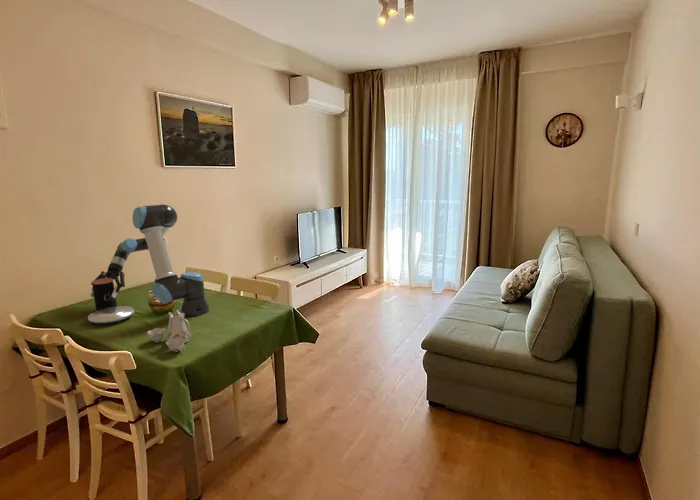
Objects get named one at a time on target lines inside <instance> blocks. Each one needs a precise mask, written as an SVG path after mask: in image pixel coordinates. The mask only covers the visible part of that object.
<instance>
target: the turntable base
mask: <svg viewBox="0 0 700 500" xmlns="http://www.w3.org/2000/svg"><path fill="white" fill-rule="evenodd" d="M128 318H129V317H127V318H125V319H122V320H118V321H114V322H108V323H95V324H96V325H99V326H100V325H101V326H102V325H103V326H104V325H114V324H118V323H121V322H123V321H126V320H128Z"/></svg>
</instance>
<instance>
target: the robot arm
mask: <svg viewBox="0 0 700 500" xmlns="http://www.w3.org/2000/svg"><path fill="white" fill-rule="evenodd" d="M177 221H178V213H177V211H176V210H175V208H173V207H172V206H170V205H167V204H153V205H143V206H137V207H135V208H134V209H133V212H132V224H133V226H134V228H136V229H139V232H140V233H141V234H143V235H144V238H136V239H134V238H126V239H124V240H123V241H122V242H119V244H118V246H117V247H116V250H115V253H114V254H113V256H112V258H111V260H110V262H109V265H108V267H107V271H103V270H102V271H101V272H100V274H99V275H98V276H97V277H96V278H94V280H97V279H101V278H112V279H113V281H114V282H115V284H116V285H114V291H113V293H112V297H113V298H115V297H116V296H117V295H118V293H119V292H120V290H121V288H125V286H126V284H125V276H126V275H125V273H124V272H123V269H124V266H125V265H126V262H127V260H128V257H129V255H131V254H132V253H135V252H136V253H137V252H141V251H142V252H143V251H146V250H147V251H149V256H150V259H151V262H152V266H153V270H154V273H155V278H154V280H153V281H154V282H153V284H152V285H151V288H152V290H151V291H152V293H153V296H154V297H155V299H156V300H157V301H158V302H160V303H163V304H164V303H165V304H166V303H172V302H174V301H177V300H180V299H183V301H182V305H181V309H180V311H181V313H184V314H185V315H184V317H195V316H201V315H203V314H206V313H208V312H209V311H210V306H209V303H208V300H207V299H206V295H205V284H204V283H205V282H204V276H203V274H202V273H200V272H196V271H195V272H194V271H193V272H192V271H191V272H190V271H188V272H182V273H181V274H180V276H179V277H178V275H177V273H176V272H174V270H173V266H172V263H171V260H170V257H169V254H168V249H167V246H166V242H165V239H164V235H165V234H166V233H167V232H168V230H169V229H170V228H172V227H173V226H175V224H176V223H177ZM90 285H91V286H93V284H92V282H90ZM89 297H91V298H94V293H93V287H92V288H91V292H90V294H89ZM116 298H117V297H116Z"/></svg>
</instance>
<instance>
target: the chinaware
mask: <svg viewBox="0 0 700 500" xmlns="http://www.w3.org/2000/svg"><path fill="white" fill-rule="evenodd" d="M167 314H168V316H169V319H168V324H167V327H168V333H167V341H165V343H164V344H165V345H167V348H168V350H170V351H172V352H173V351H179V350H180V352H182V351H185V350H186V346H185V344H187V343H188V342H190V340H191V337H192V335H193V334H192V332H191V331H190V322H189V321H188V319H186V318H185V314H184V313H181V312H180V311H179V310H178V309H176V310H175V311H174V313H173V314H172V312H168V313H167ZM166 332H167V328H166V327H163V328H161V327H155V328H153V329H152V330H148V331H147V332H146V333H147V336H148V337H149V339H150V340H151V341H153V342H154V341H160V340H162V341H163V339H164V337H165V336H166ZM186 342H187V343H186ZM184 343H185V344H184Z"/></svg>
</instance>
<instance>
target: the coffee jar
mask: <svg viewBox="0 0 700 500" xmlns="http://www.w3.org/2000/svg"><path fill="white" fill-rule="evenodd" d="M91 283H92V284H93V285H92V288H93V293H94V297H93V299H94V304H95V305H94V306H95V310H96V311H98V310H101V309H105V308H110V307H117V297H115V298H113V297H112V293H113V291H114V289H115V284H114V280H113V279H112V278H107V277H106V278H101V279H97V280H95V279H94V280H92V281H91Z"/></svg>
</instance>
